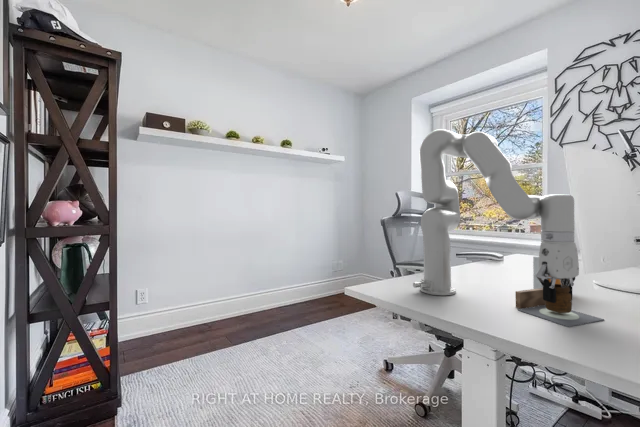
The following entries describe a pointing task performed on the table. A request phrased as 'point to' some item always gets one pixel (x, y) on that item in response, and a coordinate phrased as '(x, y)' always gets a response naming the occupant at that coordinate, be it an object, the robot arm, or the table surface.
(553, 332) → the table surface
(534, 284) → the small box
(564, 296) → the utensil holder
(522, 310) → the mat
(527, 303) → the low wall
